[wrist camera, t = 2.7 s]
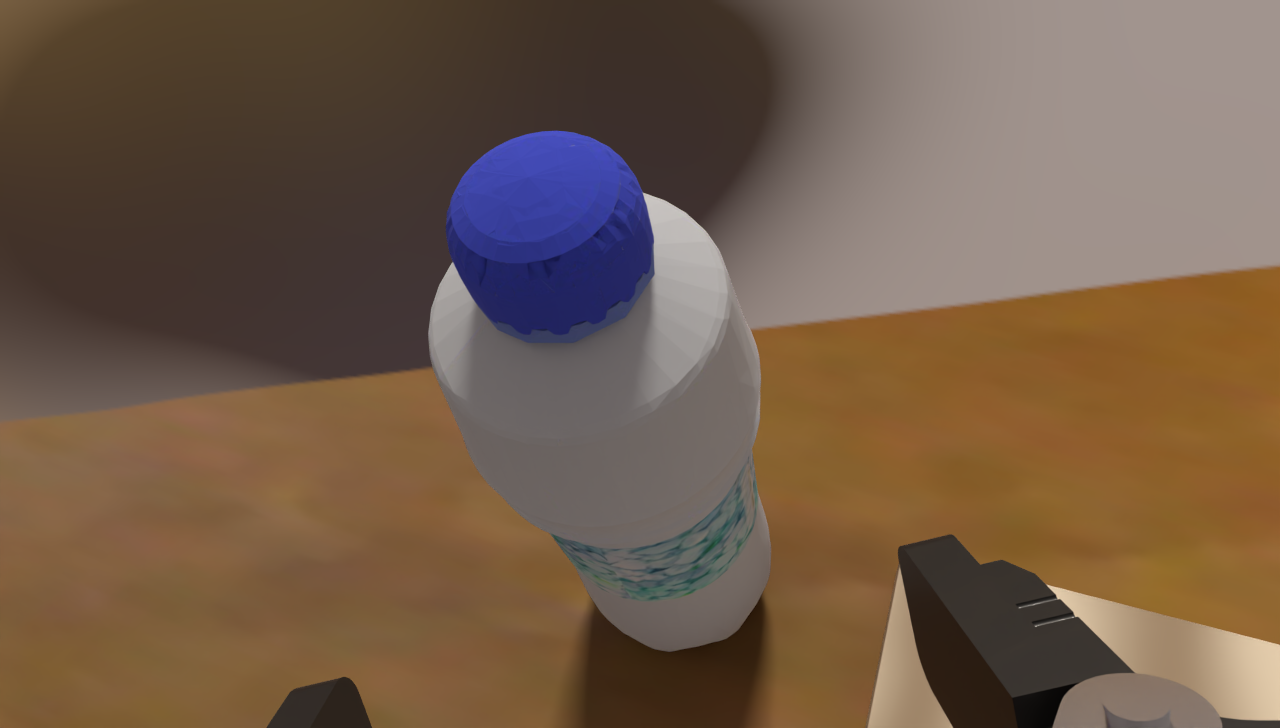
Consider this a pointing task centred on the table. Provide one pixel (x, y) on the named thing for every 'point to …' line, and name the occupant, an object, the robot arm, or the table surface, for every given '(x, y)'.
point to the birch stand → (1146, 641)
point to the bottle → (607, 383)
